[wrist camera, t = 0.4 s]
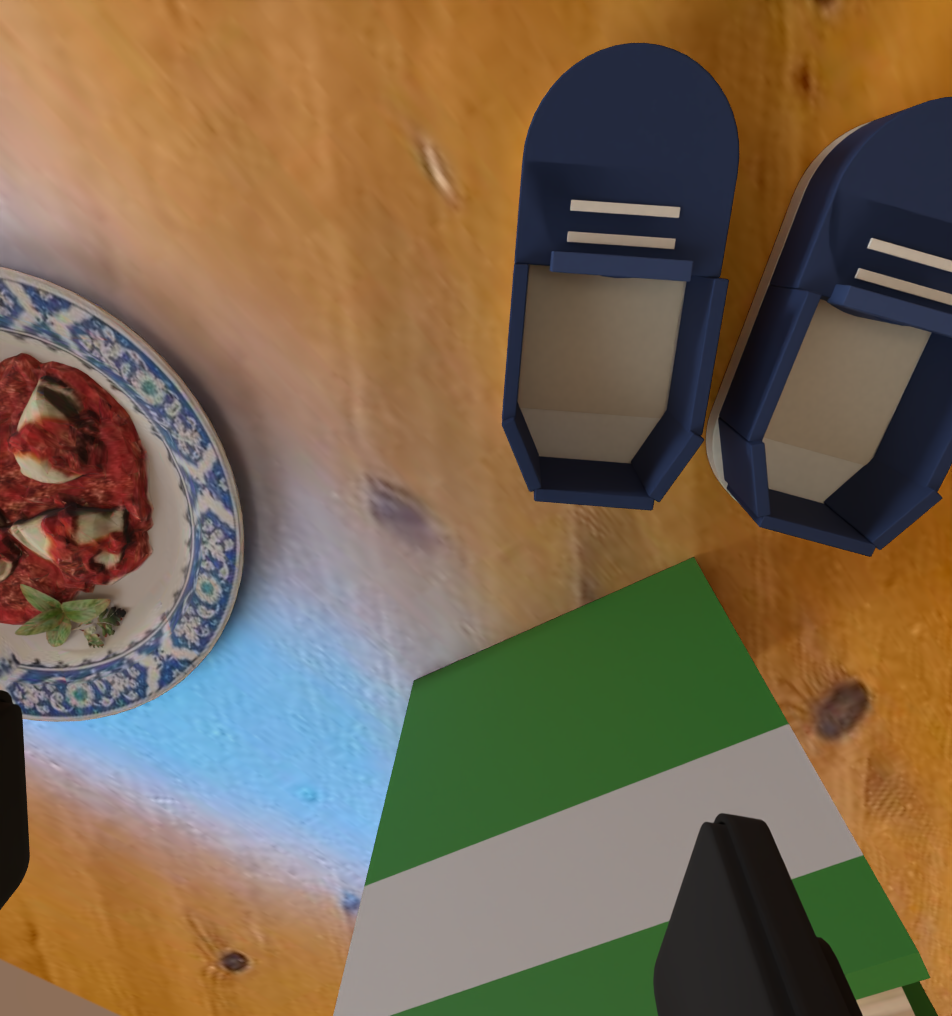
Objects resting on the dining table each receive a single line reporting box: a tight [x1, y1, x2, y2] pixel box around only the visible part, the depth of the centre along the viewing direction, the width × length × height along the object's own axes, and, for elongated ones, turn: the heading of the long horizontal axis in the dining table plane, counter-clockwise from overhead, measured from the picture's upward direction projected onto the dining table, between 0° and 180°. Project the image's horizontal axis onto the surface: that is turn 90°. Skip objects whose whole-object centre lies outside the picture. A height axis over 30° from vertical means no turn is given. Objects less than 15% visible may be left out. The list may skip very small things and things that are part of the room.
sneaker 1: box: [502, 43, 739, 510], centre depth 33 cm, size 19×9×7 cm, turn 176°
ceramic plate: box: [0, 267, 244, 722], centre depth 40 cm, size 26×26×3 cm
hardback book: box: [333, 557, 938, 1016], centre depth 32 cm, size 18×7×24 cm, turn 118°
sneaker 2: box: [706, 97, 952, 557], centre depth 33 cm, size 19×9×7 cm, turn 165°
